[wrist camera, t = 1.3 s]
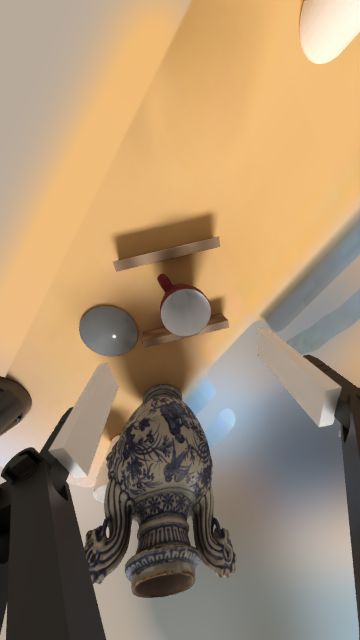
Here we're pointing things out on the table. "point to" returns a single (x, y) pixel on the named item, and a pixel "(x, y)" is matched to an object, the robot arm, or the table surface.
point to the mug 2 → (328, 27)
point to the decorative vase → (160, 501)
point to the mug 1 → (183, 308)
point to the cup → (103, 476)
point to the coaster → (108, 331)
